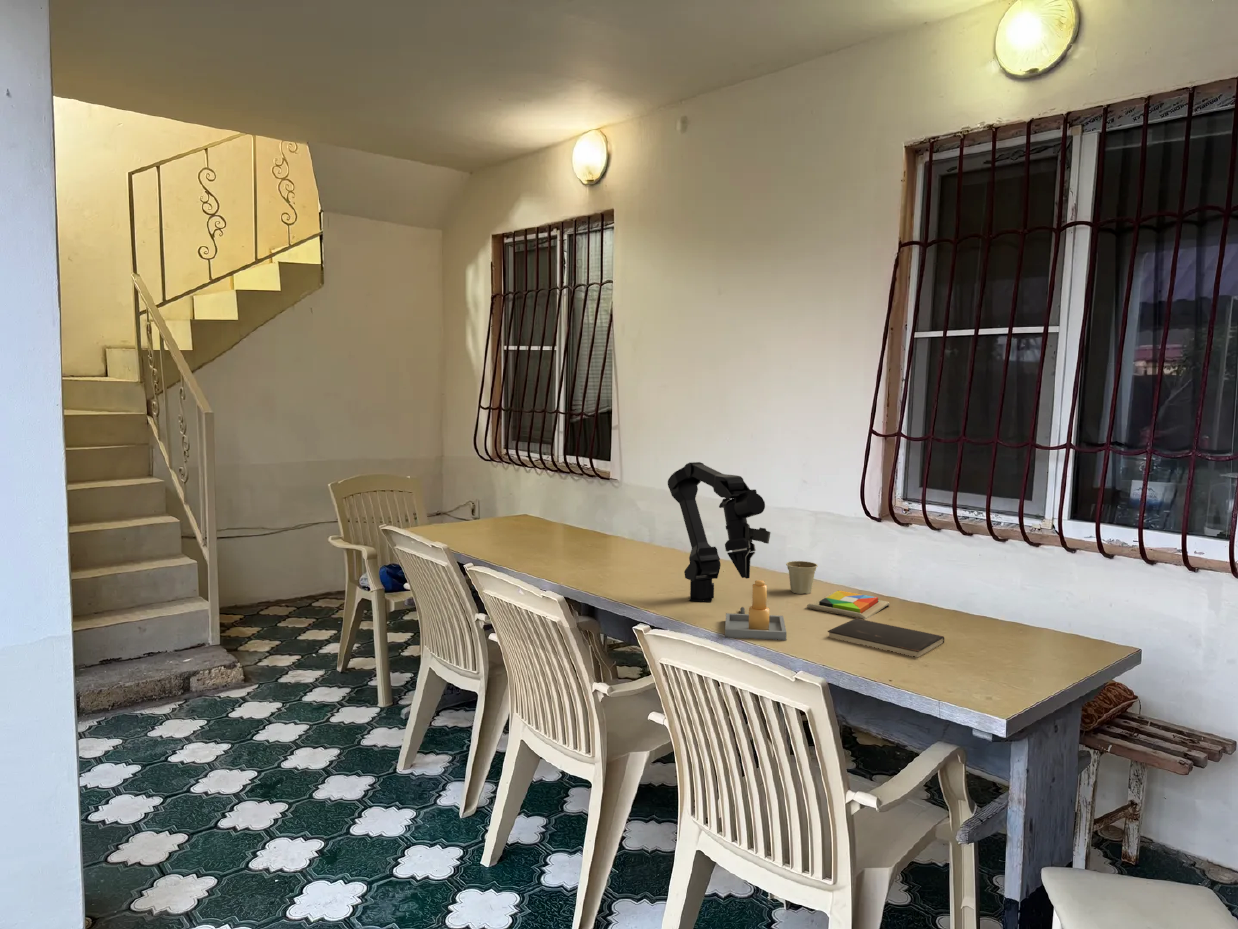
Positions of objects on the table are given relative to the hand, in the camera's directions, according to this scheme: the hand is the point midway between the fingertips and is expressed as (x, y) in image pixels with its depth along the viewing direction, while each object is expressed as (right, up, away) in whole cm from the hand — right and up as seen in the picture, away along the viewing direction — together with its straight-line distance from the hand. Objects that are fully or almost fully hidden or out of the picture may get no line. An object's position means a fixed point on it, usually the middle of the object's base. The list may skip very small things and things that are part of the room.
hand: (745, 578), depth 219 cm
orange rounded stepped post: (+2, -12, -12) cm, 16 cm away
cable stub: (0, -11, +3) cm, 11 cm away
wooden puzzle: (+31, -11, +12) cm, 35 cm away
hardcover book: (+32, -14, -18) cm, 39 cm away
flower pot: (+22, -9, +30) cm, 38 cm away
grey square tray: (+1, -12, -10) cm, 16 cm away
